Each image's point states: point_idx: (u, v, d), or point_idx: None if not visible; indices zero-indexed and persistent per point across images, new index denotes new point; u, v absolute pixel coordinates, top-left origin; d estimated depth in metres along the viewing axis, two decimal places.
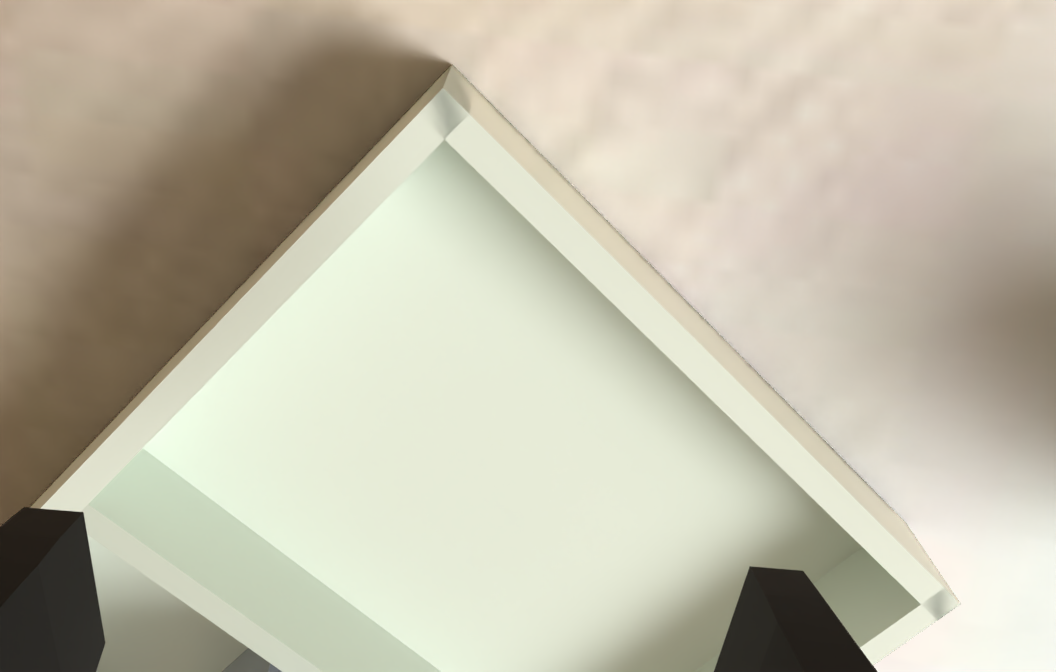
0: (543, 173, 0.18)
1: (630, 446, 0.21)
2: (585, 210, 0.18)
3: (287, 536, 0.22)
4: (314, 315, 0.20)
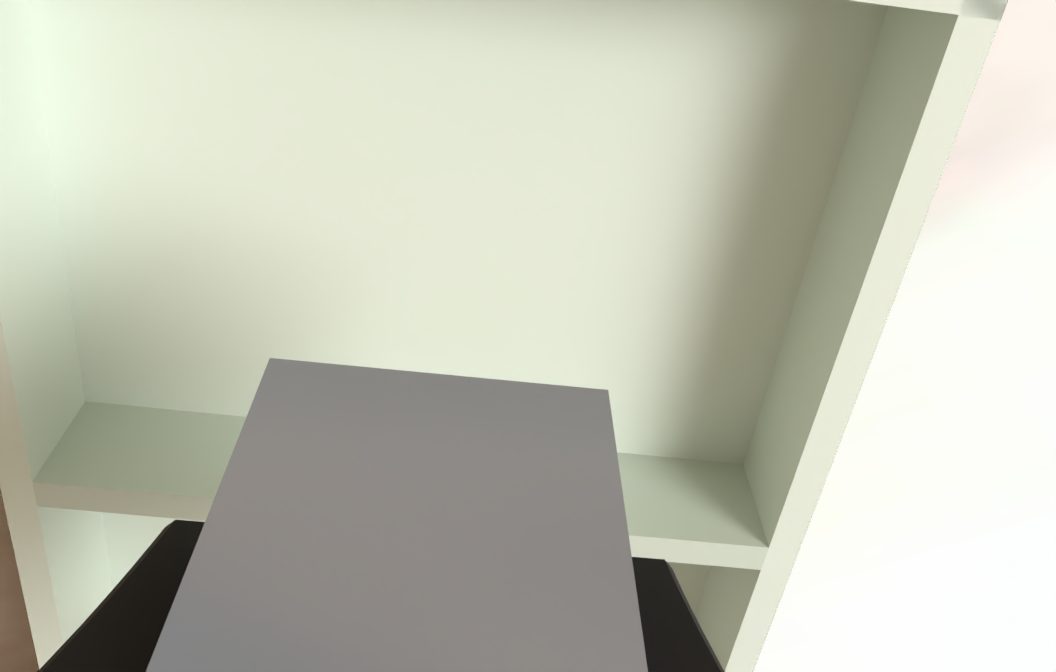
0: None
1: (511, 84, 0.16)
2: None
3: None
4: (101, 177, 0.17)
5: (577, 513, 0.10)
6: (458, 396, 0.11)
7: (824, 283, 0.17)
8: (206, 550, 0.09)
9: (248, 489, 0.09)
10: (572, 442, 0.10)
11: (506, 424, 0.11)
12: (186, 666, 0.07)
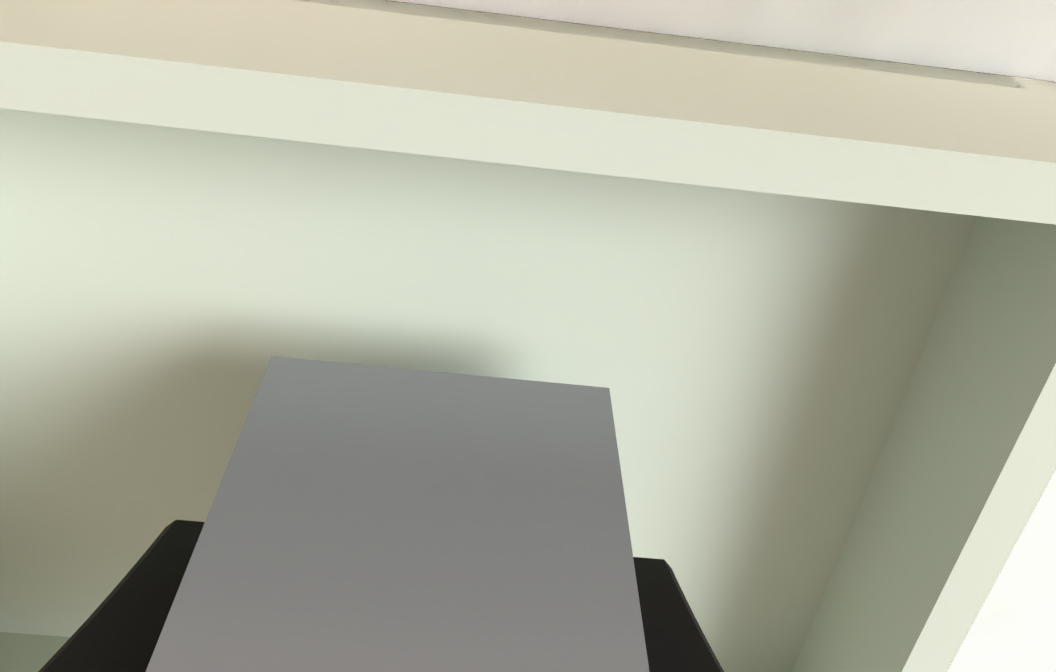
0: None
1: (491, 272, 0.12)
2: None
3: None
4: None
5: (578, 511, 0.10)
6: (459, 394, 0.11)
7: (899, 515, 0.13)
8: (207, 548, 0.09)
9: (249, 487, 0.09)
10: (573, 440, 0.10)
11: (507, 422, 0.11)
12: (186, 664, 0.07)
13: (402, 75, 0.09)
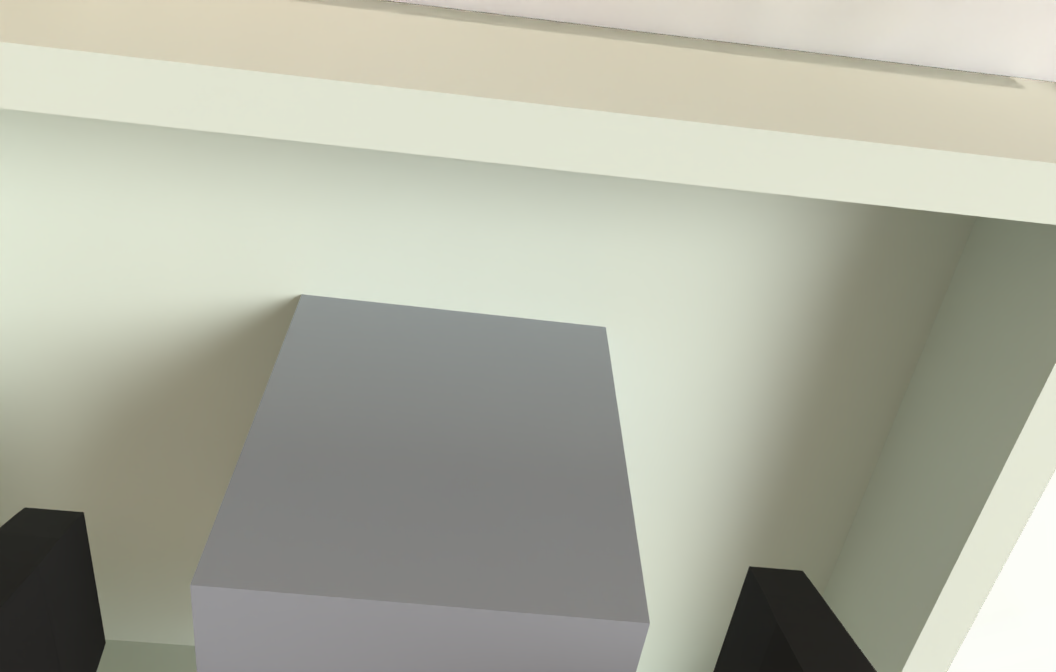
0: None
1: (491, 272, 0.12)
2: None
3: None
4: None
5: (578, 425, 0.11)
6: (471, 329, 0.12)
7: (899, 514, 0.13)
8: (254, 446, 0.10)
9: (288, 399, 0.10)
10: (573, 368, 0.12)
11: (514, 352, 0.12)
12: (243, 534, 0.09)
13: (403, 76, 0.09)
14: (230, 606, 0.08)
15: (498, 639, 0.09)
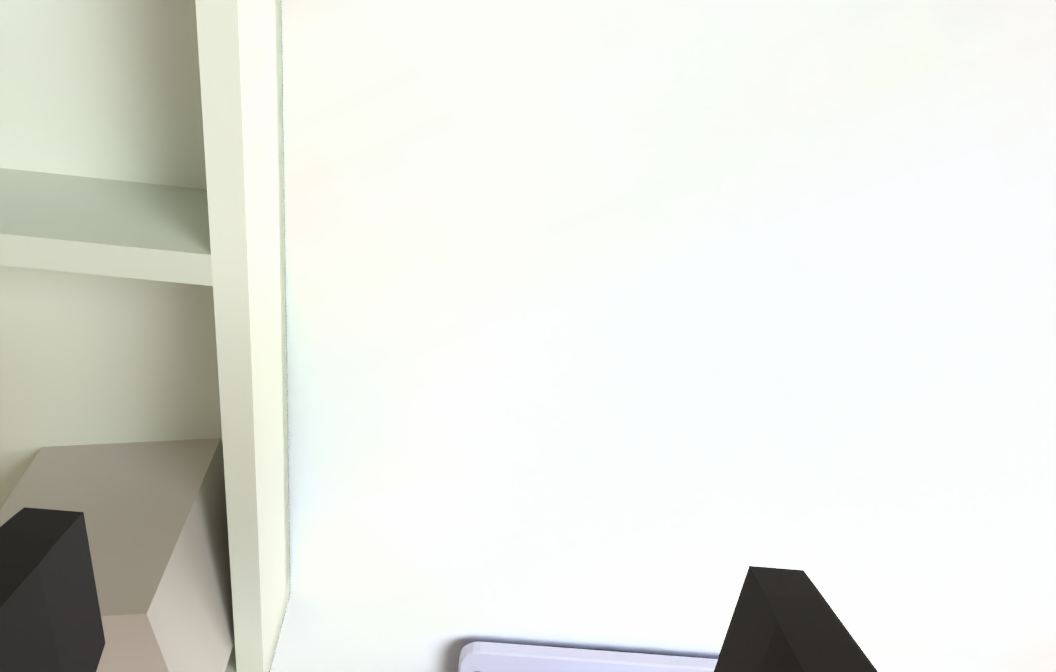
0: None
1: None
2: None
3: None
4: None
5: None
6: None
7: None
8: None
9: None
10: None
11: None
12: None
13: None
14: None
15: None
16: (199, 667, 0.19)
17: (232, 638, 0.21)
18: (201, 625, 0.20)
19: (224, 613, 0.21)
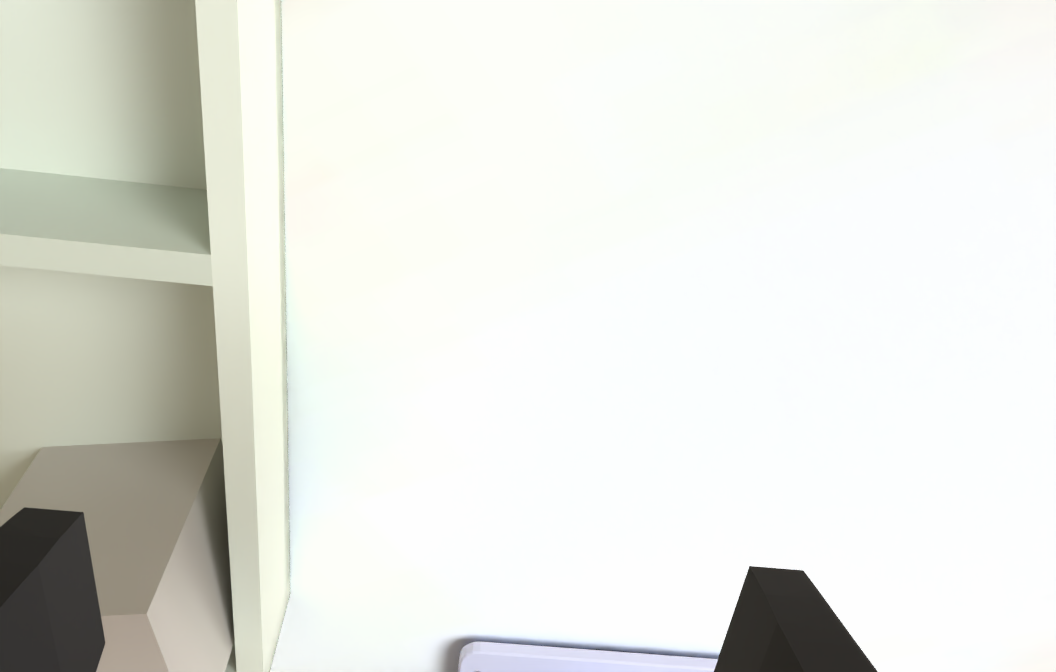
0: None
1: None
2: None
3: None
4: None
5: None
6: None
7: None
8: None
9: None
10: None
11: None
12: None
13: None
14: None
15: None
16: (199, 667, 0.19)
17: (232, 638, 0.21)
18: (201, 625, 0.20)
19: (224, 613, 0.21)
